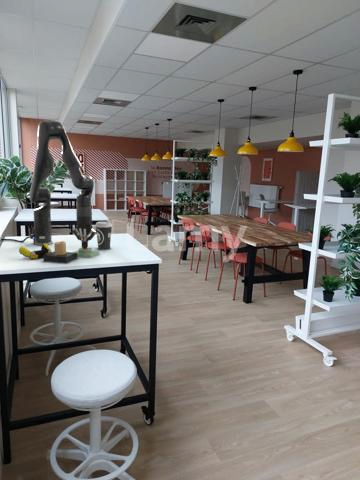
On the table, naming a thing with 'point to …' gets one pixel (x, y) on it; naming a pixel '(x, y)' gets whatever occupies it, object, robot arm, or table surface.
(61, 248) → the knob
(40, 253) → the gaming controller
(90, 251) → the button box
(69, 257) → the panel
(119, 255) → the table surface
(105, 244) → the coffee cup
